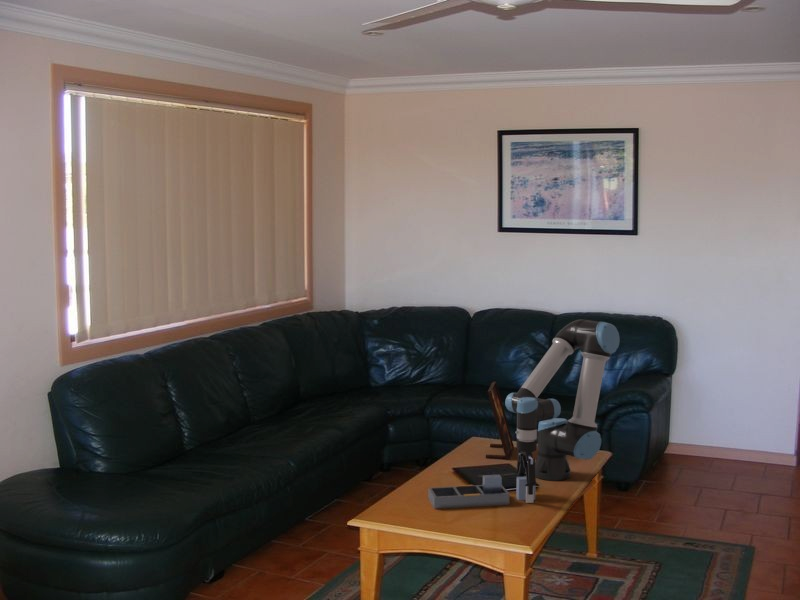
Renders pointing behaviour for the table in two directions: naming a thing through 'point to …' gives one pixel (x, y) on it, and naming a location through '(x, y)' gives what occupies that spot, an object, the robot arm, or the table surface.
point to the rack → (470, 494)
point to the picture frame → (500, 424)
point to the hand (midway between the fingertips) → (525, 498)
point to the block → (522, 488)
